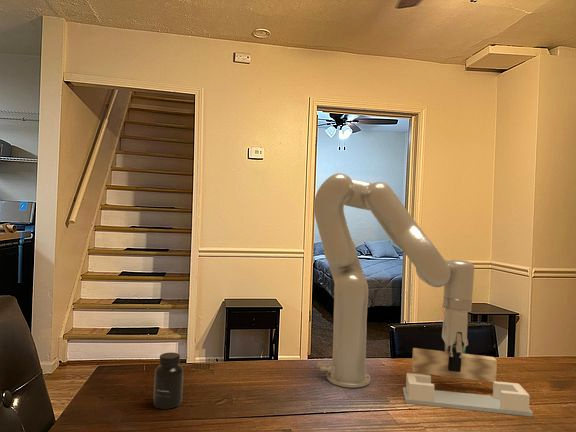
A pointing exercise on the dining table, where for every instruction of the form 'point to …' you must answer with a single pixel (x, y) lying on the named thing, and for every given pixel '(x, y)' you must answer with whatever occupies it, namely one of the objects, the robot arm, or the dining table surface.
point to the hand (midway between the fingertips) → (452, 368)
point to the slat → (438, 365)
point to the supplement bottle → (168, 381)
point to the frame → (468, 397)
